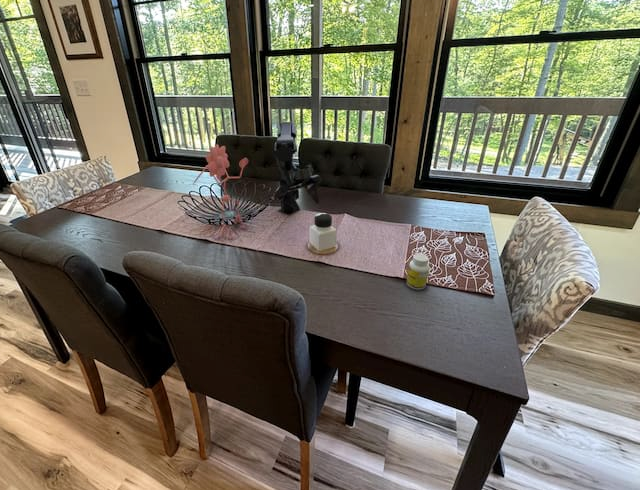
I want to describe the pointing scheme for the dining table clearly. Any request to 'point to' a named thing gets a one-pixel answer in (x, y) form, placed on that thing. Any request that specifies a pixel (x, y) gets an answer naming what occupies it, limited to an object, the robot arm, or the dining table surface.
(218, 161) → the figurine
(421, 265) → the supplement bottle
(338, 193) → the dining table surface
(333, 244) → the medicine bottle
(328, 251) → the coaster
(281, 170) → the robot arm
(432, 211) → the dining table surface
